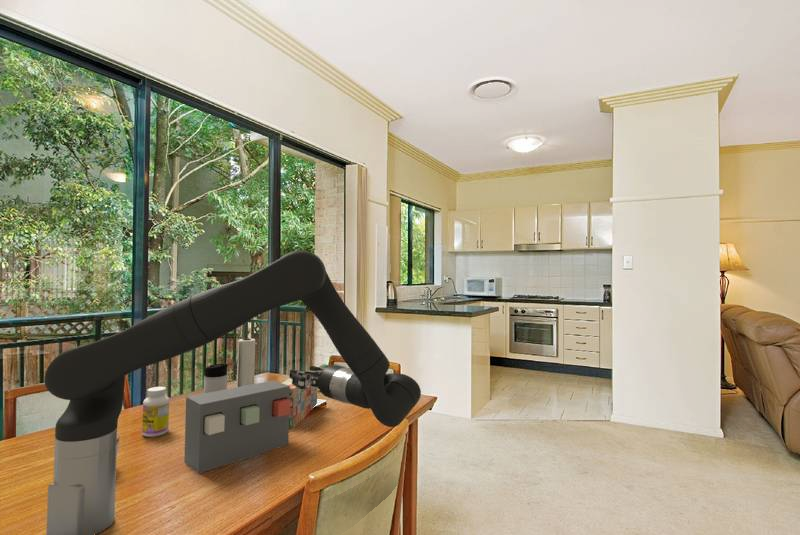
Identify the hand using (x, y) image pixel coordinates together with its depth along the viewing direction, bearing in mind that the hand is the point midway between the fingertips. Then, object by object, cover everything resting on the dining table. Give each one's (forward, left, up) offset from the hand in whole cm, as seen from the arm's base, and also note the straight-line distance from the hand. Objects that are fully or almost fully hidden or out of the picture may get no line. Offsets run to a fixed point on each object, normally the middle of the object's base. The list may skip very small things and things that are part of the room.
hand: (301, 371), depth 108 cm
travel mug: (+13, +31, -22) cm, 40 cm away
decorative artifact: (+62, +12, -22) cm, 67 cm away
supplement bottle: (+9, +47, -22) cm, 53 cm away
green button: (-2, +12, -13) cm, 18 cm away
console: (+1, +17, -22) cm, 28 cm away
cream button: (-10, +17, -13) cm, 24 cm away
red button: (+5, +7, -13) cm, 16 cm away
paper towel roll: (+49, +41, -22) cm, 67 cm away
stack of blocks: (+31, +13, -22) cm, 40 cm away
